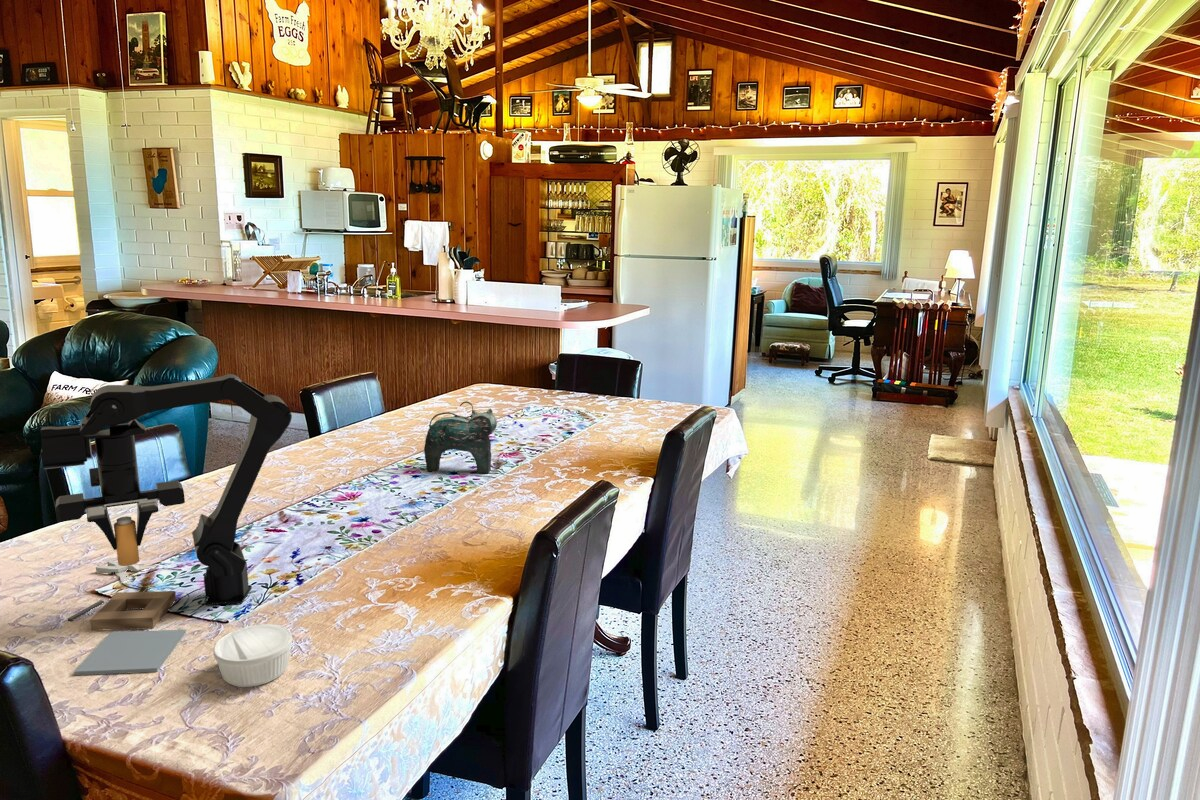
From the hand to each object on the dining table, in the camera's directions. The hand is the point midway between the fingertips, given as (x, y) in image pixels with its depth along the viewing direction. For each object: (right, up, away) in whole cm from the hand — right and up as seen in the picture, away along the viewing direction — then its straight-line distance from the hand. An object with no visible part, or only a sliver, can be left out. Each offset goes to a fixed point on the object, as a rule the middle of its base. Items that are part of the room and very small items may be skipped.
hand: (127, 546), depth 140 cm
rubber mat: (+6, -16, -9) cm, 19 cm away
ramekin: (+28, -17, -13) cm, 35 cm away
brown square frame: (0, -13, +3) cm, 13 cm away
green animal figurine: (+43, +5, +86) cm, 96 cm away
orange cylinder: (0, -3, +1) cm, 3 cm away
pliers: (-9, -9, +19) cm, 23 cm away
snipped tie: (-9, -12, +4) cm, 16 cm away
